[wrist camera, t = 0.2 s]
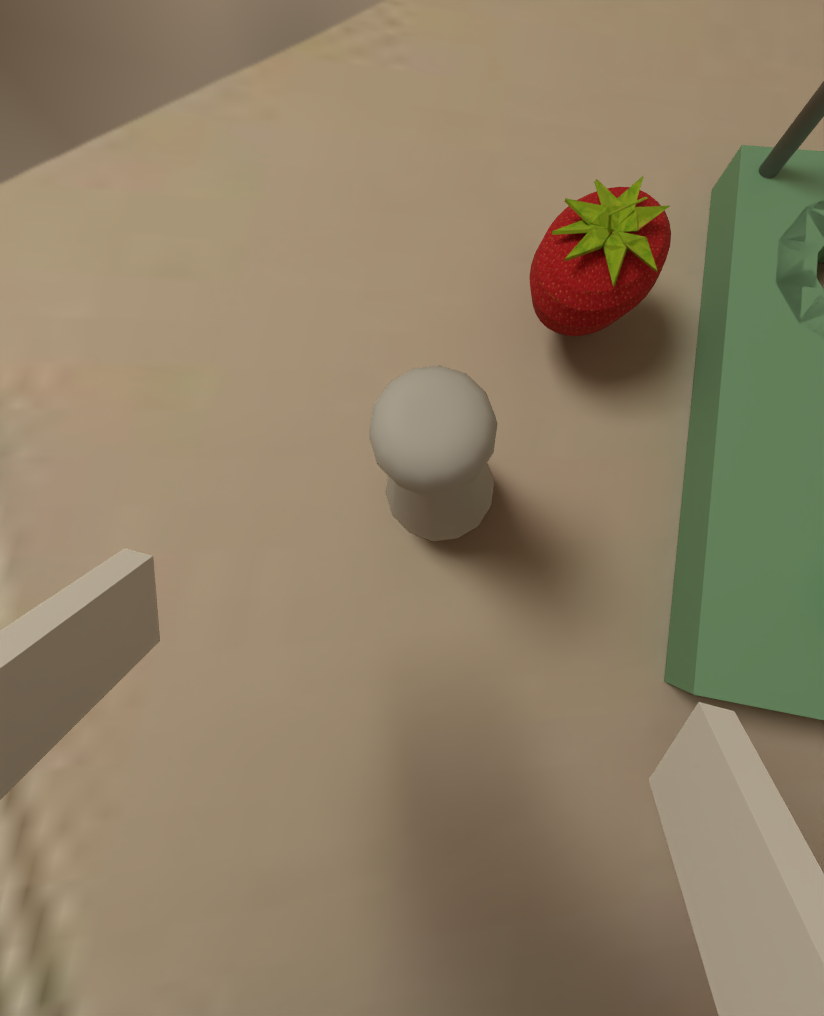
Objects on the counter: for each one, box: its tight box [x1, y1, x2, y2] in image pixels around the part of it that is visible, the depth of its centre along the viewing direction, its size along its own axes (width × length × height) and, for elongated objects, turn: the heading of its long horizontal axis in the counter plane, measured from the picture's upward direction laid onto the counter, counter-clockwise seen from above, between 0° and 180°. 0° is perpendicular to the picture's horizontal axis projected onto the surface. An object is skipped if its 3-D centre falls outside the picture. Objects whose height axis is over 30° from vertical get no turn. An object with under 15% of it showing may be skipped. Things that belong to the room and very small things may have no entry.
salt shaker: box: [369, 366, 497, 541], centre depth 21 cm, size 6×6×13 cm
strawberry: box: [530, 177, 671, 336], centre depth 23 cm, size 6×8×10 cm
